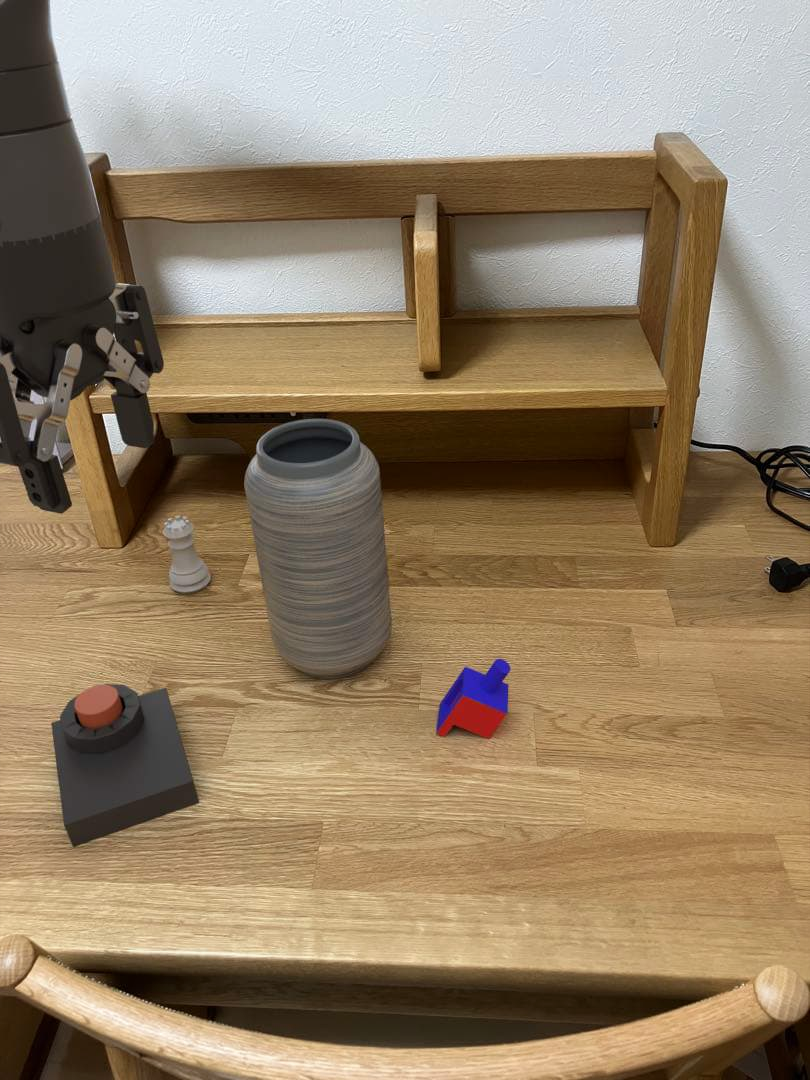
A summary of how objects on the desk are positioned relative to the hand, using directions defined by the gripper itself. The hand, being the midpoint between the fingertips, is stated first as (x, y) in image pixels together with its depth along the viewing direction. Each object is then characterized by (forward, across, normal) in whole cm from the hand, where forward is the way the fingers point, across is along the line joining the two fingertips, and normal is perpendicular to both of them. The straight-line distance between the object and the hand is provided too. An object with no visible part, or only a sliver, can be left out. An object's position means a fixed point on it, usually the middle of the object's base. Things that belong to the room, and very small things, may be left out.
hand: (99, 475), depth 58 cm
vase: (+30, -20, +4) cm, 36 cm away
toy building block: (+30, -15, +20) cm, 39 cm away
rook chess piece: (+30, -25, -16) cm, 42 cm away
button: (+26, -2, -9) cm, 27 cm away
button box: (+30, 0, -6) cm, 30 cm away
